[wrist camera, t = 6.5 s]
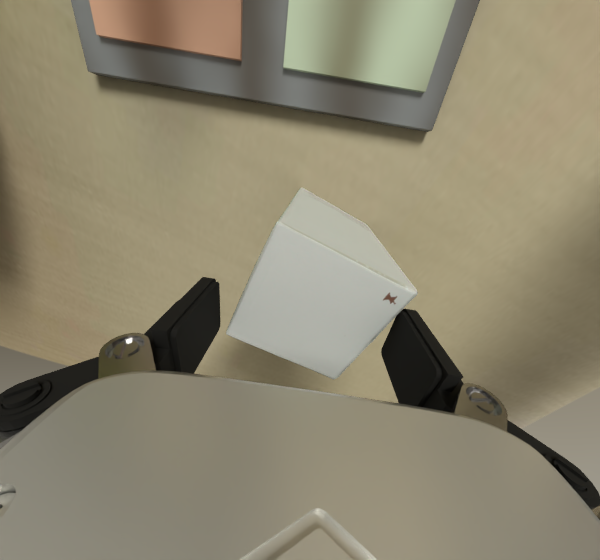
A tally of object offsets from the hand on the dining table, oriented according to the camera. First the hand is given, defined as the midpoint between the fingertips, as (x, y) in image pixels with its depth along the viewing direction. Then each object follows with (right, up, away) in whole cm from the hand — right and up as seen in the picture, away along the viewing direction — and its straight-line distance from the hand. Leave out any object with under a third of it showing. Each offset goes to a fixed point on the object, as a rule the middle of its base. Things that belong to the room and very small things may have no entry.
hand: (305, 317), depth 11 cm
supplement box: (+1, +6, +11) cm, 12 cm away
